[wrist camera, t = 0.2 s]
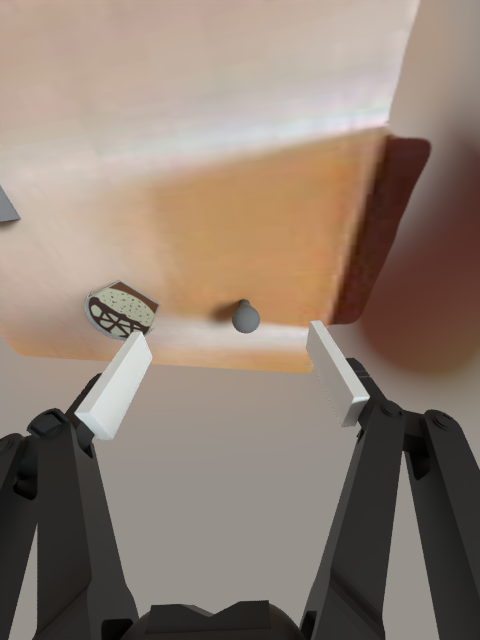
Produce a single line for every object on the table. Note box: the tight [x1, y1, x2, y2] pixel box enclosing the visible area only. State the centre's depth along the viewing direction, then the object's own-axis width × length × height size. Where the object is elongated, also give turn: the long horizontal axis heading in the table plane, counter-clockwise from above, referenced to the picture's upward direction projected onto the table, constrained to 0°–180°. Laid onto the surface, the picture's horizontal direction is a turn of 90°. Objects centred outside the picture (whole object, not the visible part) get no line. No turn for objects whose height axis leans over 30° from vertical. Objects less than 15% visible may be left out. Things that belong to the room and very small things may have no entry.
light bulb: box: [232, 300, 260, 333], centre depth 41 cm, size 6×6×10 cm
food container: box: [84, 280, 160, 341], centre depth 41 cm, size 12×6×10 cm, turn 49°
